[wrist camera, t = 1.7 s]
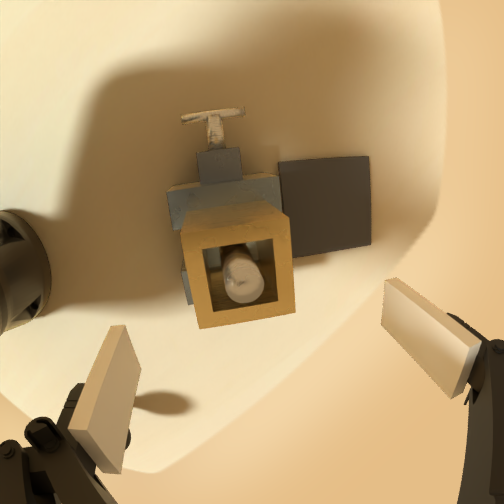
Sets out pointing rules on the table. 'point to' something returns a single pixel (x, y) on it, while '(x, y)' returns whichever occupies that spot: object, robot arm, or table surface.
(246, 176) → the vise
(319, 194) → the mat
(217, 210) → the open wooden box
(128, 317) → the table surface
